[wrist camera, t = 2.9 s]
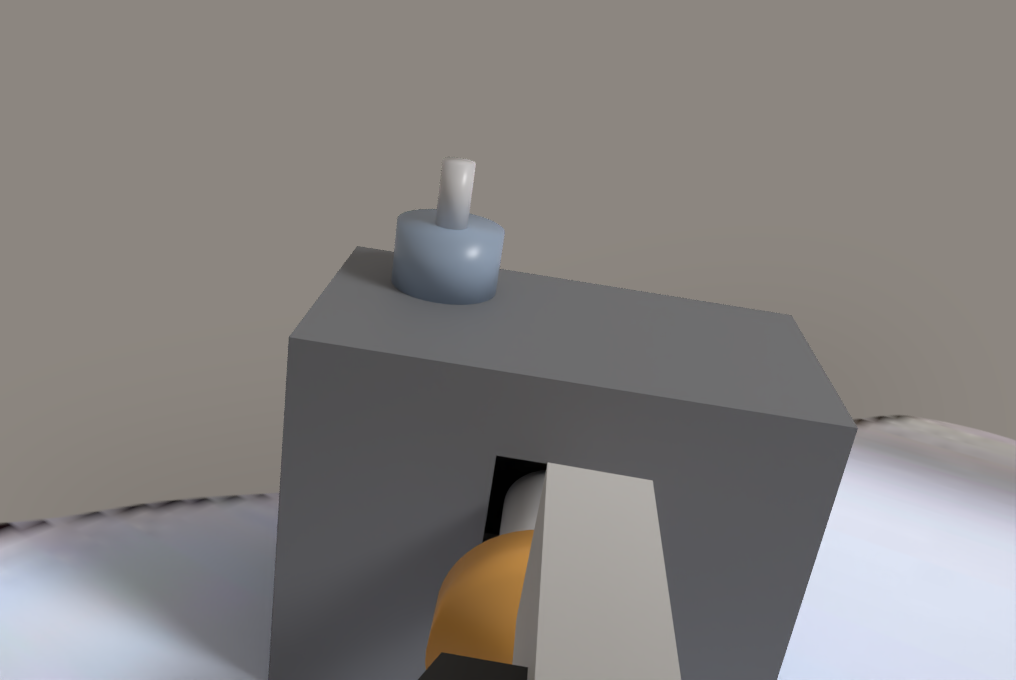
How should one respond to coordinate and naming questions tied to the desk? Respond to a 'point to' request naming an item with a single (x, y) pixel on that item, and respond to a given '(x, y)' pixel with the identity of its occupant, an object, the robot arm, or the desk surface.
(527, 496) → the knob
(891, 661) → the desk surface
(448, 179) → the knob
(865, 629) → the desk surface
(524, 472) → the housing
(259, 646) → the desk surface
